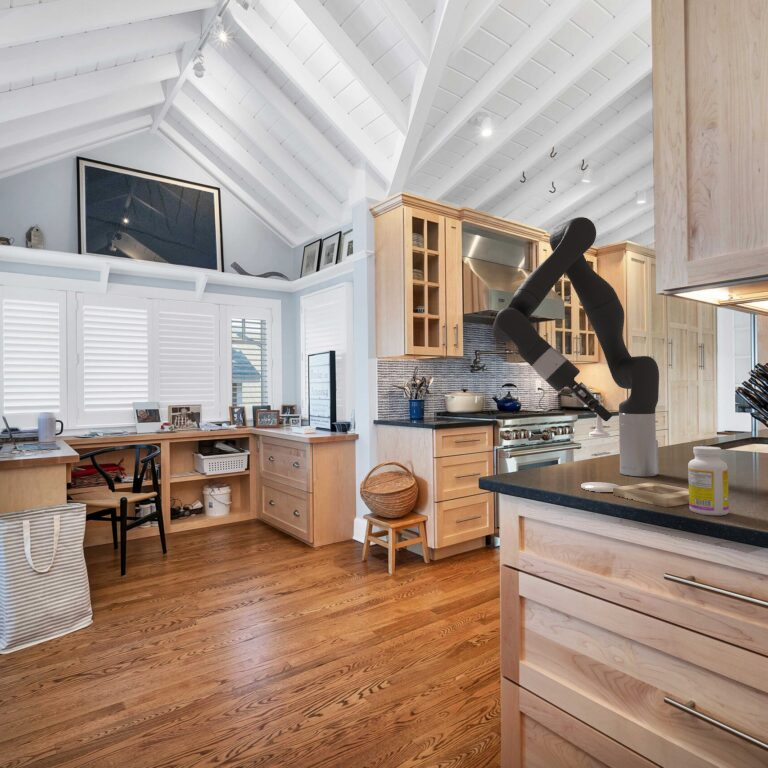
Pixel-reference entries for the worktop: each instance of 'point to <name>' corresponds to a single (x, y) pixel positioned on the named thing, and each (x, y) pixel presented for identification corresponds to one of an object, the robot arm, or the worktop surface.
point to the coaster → (599, 486)
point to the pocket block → (654, 494)
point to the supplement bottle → (708, 482)
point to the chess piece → (599, 425)
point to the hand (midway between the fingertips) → (608, 418)
